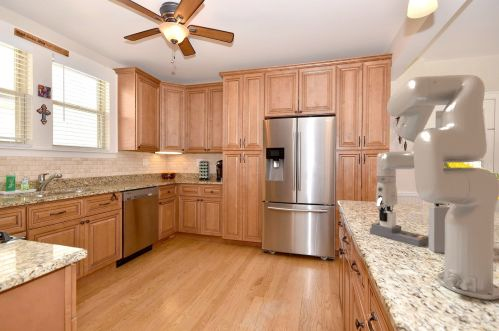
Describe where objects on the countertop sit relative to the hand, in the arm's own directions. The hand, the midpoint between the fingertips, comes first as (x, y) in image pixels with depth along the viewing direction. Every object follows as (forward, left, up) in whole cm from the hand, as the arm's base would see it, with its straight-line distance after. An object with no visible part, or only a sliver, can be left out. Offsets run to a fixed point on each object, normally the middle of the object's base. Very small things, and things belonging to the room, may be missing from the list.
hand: (385, 220), depth 108 cm
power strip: (0, -5, -7) cm, 9 cm away
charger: (0, -1, -4) cm, 4 cm away
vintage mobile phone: (-4, -21, -7) cm, 23 cm away
